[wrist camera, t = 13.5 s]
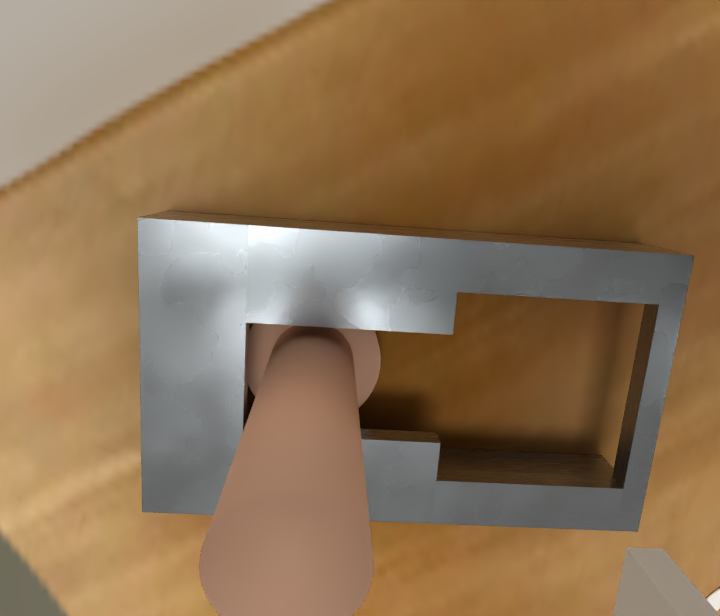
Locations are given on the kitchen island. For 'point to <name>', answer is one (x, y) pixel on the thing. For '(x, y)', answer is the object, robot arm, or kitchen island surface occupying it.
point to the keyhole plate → (387, 313)
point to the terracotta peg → (297, 480)
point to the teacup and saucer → (715, 599)
